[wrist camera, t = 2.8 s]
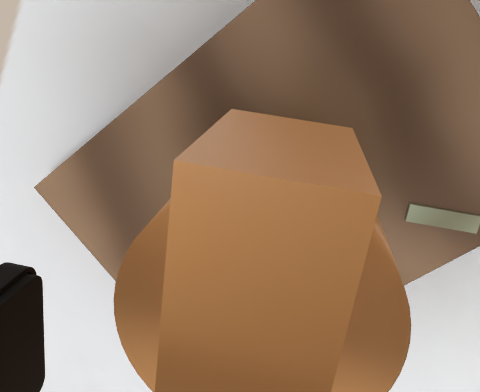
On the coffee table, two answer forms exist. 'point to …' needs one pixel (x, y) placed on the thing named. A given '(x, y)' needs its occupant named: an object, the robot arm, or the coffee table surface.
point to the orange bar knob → (265, 268)
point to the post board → (307, 119)
